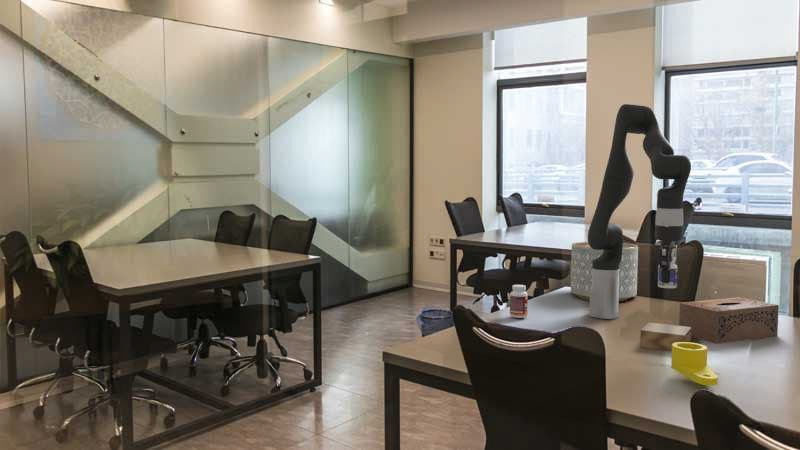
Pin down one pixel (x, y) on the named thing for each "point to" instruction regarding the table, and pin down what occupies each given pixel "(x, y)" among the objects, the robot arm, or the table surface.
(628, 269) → the planter
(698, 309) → the tissue box cover
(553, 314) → the table surface
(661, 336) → the walnut block
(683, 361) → the crank
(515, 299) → the pill bottle
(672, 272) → the pill bottle
